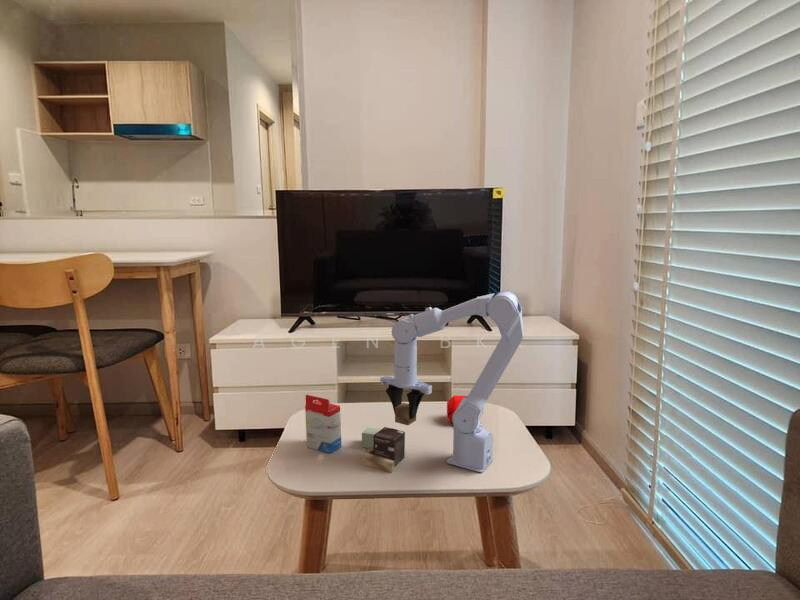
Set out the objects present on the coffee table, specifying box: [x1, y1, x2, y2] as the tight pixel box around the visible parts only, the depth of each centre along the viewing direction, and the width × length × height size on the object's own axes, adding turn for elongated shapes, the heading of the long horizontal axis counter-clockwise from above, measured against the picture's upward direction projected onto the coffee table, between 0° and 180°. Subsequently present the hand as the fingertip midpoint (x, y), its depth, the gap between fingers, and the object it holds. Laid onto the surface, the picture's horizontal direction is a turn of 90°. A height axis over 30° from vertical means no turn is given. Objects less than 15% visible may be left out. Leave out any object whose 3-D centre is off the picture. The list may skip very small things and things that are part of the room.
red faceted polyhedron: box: [446, 395, 467, 423], centre depth 144 cm, size 8×8×8 cm
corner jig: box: [360, 446, 395, 474], centre depth 120 cm, size 9×9×2 cm
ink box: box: [304, 394, 342, 454], centre depth 127 cm, size 8×5×15 cm, turn 59°
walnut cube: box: [394, 402, 417, 426], centre depth 124 cm, size 4×4×4 cm
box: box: [373, 426, 406, 468], centre depth 120 cm, size 6×6×7 cm
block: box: [361, 426, 382, 449], centre depth 129 cm, size 4×4×4 cm
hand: (405, 415), depth 123 cm, fingers closed on walnut cube, 4 cm apart
